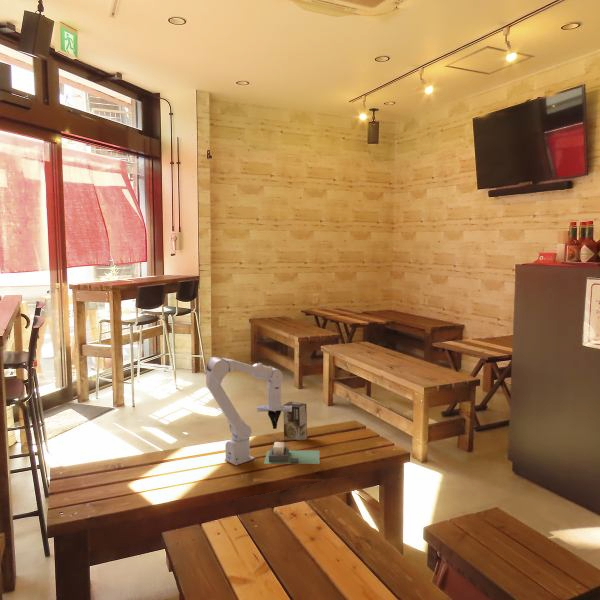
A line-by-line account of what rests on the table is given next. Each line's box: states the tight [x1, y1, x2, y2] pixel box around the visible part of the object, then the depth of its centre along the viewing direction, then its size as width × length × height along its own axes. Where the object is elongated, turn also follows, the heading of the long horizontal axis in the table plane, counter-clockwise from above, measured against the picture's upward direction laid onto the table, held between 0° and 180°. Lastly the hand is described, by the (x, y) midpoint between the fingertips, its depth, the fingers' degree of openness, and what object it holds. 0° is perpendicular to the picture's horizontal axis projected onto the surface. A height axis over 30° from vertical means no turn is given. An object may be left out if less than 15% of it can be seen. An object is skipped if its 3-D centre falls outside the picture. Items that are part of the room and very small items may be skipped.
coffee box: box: [282, 401, 308, 441], centre depth 226 cm, size 9×6×16 cm
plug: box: [273, 441, 285, 455], centre depth 202 cm, size 7×4×5 cm, turn 177°
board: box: [263, 445, 320, 465], centre depth 202 cm, size 22×14×4 cm, turn 88°
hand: (274, 428), depth 210 cm, fingers closed
